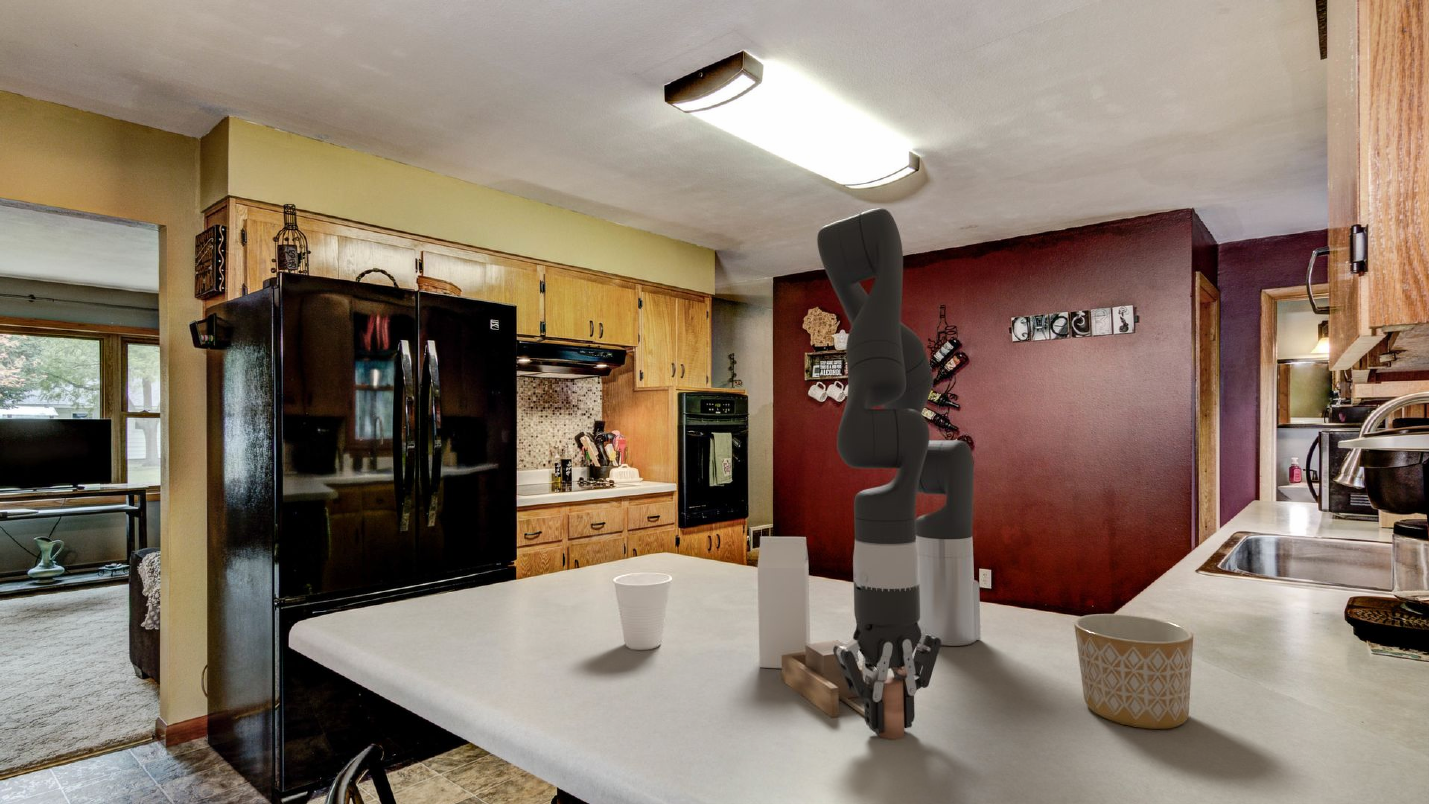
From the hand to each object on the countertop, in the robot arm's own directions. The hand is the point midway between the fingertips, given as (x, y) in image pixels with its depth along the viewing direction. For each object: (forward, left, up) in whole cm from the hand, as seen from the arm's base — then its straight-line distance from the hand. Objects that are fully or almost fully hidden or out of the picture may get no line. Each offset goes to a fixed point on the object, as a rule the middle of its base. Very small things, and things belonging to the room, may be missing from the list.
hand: (889, 727), depth 81 cm
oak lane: (0, -13, -1) cm, 14 cm away
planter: (-31, +7, -1) cm, 32 cm away
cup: (+18, -44, -1) cm, 48 cm away
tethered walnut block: (0, -7, -1) cm, 7 cm away
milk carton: (0, -27, -1) cm, 28 cm away
